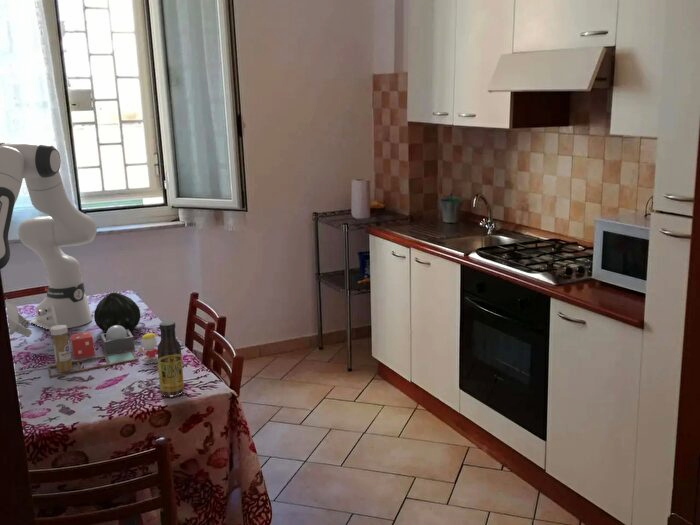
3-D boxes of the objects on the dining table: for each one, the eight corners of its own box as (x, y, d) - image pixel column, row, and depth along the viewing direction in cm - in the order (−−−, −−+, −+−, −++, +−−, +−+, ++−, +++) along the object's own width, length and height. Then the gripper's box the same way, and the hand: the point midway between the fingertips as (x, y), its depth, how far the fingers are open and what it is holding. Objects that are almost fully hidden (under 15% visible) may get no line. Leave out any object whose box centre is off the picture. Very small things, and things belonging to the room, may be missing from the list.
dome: (103, 346, 224) (100, 327, 223) (118, 340, 230) (115, 321, 228) (117, 349, 221) (115, 330, 220) (132, 342, 227) (130, 323, 225)
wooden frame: (49, 377, 203) (49, 376, 203) (47, 367, 211) (47, 366, 211) (138, 360, 214) (138, 358, 214) (133, 351, 221) (132, 349, 221)
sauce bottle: (162, 400, 184) (154, 328, 180) (158, 391, 190) (150, 321, 185) (187, 395, 187) (180, 324, 182) (183, 386, 193) (175, 317, 188)
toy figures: (178, 352, 219) (175, 327, 217) (180, 357, 215) (177, 331, 213) (138, 359, 215) (135, 333, 213) (139, 364, 211) (136, 337, 209)
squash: (130, 304, 253) (101, 281, 242) (155, 313, 244) (127, 289, 233) (106, 338, 247) (76, 315, 237) (131, 347, 238) (101, 324, 228)
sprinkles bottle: (68, 372, 207) (62, 329, 203) (53, 372, 207) (47, 329, 204) (75, 366, 211) (69, 324, 208) (61, 366, 211) (54, 324, 208)
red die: (74, 358, 217) (72, 340, 216) (72, 352, 223) (69, 334, 221) (95, 354, 220) (92, 336, 218) (92, 349, 225) (90, 331, 224)
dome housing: (106, 354, 220) (104, 342, 219) (102, 345, 228) (100, 334, 227) (134, 348, 224) (133, 336, 223) (129, 340, 231) (128, 329, 231)
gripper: (-7, 303, 187) (38, 331, 194) (-7, 286, 205) (34, 312, 212) (-23, 322, 186) (23, 349, 193) (-22, 303, 204) (20, 329, 211)
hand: (29, 329), depth 202 cm, fingers open, 8 cm apart
